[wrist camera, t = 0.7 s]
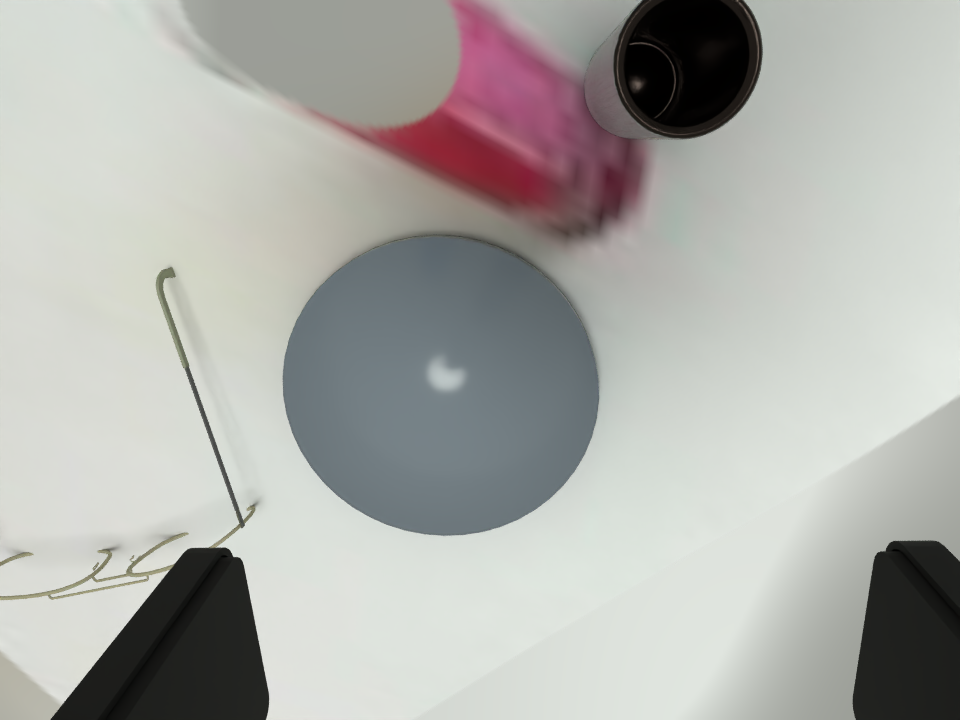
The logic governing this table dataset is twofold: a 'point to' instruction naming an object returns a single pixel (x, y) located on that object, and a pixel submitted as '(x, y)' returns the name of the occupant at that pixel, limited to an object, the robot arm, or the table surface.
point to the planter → (675, 69)
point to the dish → (441, 385)
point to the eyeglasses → (185, 364)
